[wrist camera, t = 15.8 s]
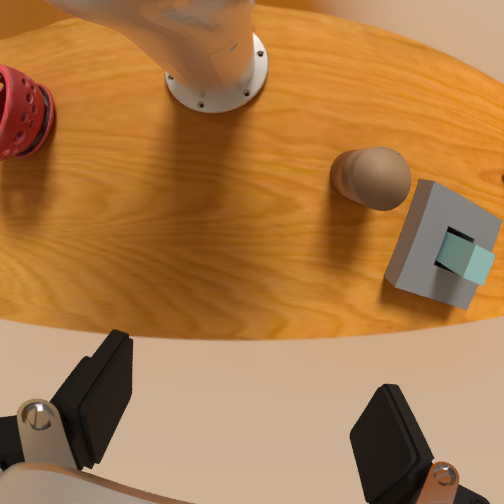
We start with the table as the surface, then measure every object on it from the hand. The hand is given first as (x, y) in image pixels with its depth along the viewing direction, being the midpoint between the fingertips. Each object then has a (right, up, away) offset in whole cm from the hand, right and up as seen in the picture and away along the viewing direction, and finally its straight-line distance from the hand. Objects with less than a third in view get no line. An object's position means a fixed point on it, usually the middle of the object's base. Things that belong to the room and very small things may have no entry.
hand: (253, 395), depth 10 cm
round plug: (+12, +15, +25) cm, 32 cm away
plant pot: (-33, +26, +24) cm, 49 cm away
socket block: (+27, +6, +27) cm, 39 cm away
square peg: (+26, +6, +27) cm, 39 cm away
